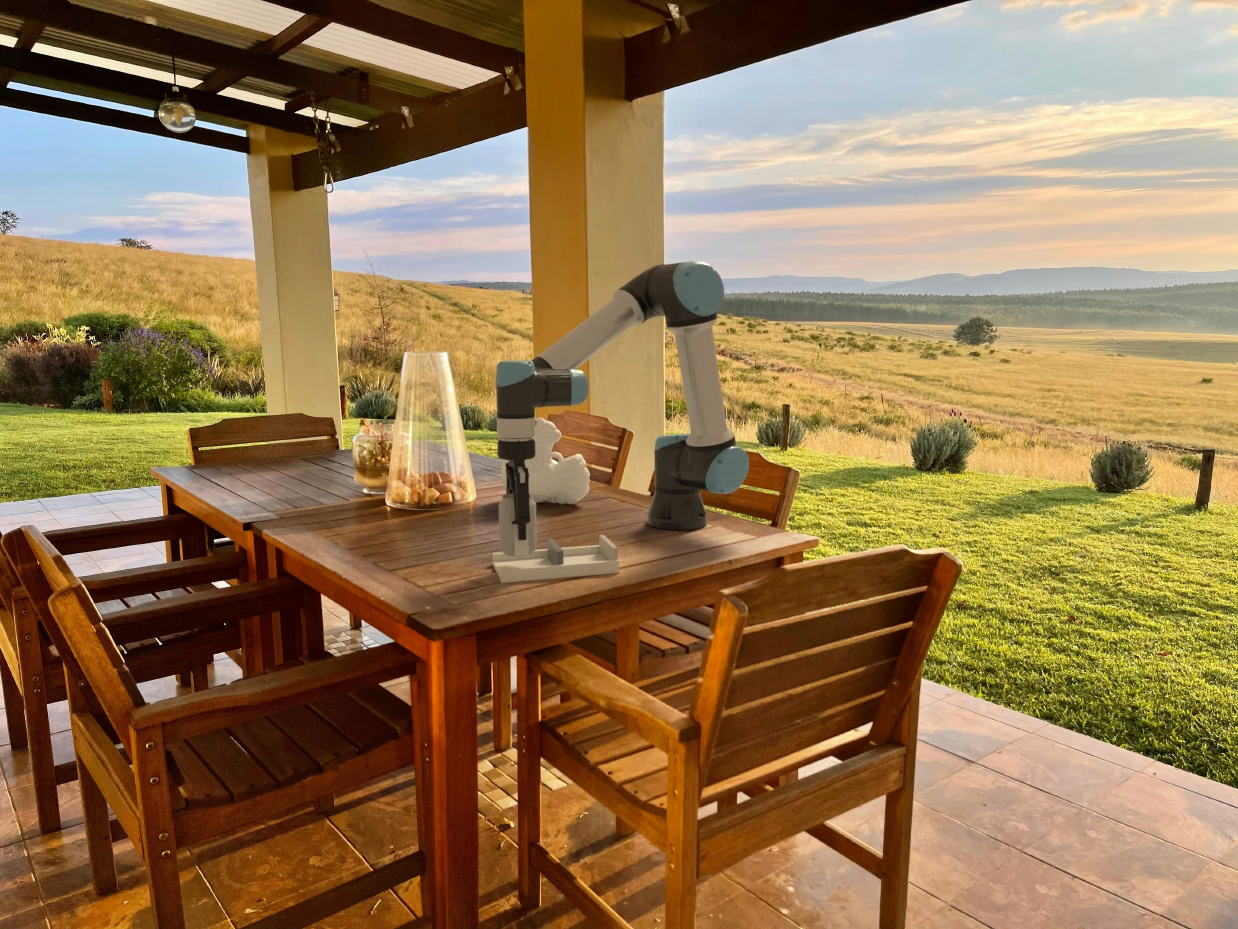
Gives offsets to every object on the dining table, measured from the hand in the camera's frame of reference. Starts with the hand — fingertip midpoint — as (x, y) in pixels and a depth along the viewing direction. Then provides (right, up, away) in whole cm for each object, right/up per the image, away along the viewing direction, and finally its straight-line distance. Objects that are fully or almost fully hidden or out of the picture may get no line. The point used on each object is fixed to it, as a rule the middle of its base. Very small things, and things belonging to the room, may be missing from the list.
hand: (518, 549), depth 165 cm
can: (0, -1, 0) cm, 1 cm away
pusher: (+7, -3, +3) cm, 8 cm away
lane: (+7, -4, +3) cm, 9 cm away
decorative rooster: (0, +6, +64) cm, 65 cm away
